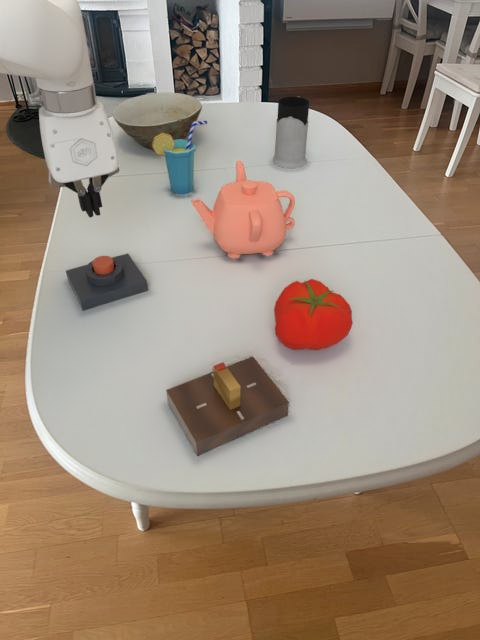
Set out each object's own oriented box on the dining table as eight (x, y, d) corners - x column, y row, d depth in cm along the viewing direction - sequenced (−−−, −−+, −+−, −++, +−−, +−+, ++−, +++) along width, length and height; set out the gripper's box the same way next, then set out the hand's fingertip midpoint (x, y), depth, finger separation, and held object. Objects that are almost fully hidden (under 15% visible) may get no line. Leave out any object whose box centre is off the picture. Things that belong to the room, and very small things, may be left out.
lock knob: (240, 406, 70) (240, 385, 68) (230, 410, 70) (229, 389, 67) (223, 381, 74) (223, 360, 71) (213, 385, 73) (212, 364, 70)
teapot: (191, 249, 104) (187, 187, 95) (237, 214, 115) (237, 155, 106) (260, 276, 98) (263, 212, 89) (302, 236, 108) (308, 175, 99)
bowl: (101, 154, 138) (94, 116, 131) (140, 122, 155) (135, 87, 148) (184, 165, 133) (181, 126, 126) (214, 131, 150) (213, 95, 143)
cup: (199, 174, 129) (196, 113, 119) (218, 185, 125) (216, 123, 115) (151, 190, 123) (143, 127, 113) (169, 203, 118) (163, 138, 108)
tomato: (343, 374, 79) (351, 331, 73) (262, 357, 81) (264, 315, 76) (353, 316, 89) (361, 275, 83) (281, 303, 91) (284, 262, 86)
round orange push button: (97, 277, 91) (95, 269, 90) (91, 267, 93) (89, 258, 92) (117, 271, 92) (115, 263, 91) (110, 261, 95) (109, 253, 94)
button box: (82, 310, 90) (78, 292, 87) (67, 280, 96) (63, 262, 94) (148, 290, 94) (145, 272, 91) (129, 262, 101) (126, 245, 98)
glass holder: (269, 166, 133) (272, 106, 123) (279, 144, 143) (283, 87, 133) (303, 169, 131) (309, 109, 121) (311, 147, 142) (317, 90, 132)
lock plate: (197, 456, 68) (196, 441, 66) (167, 403, 75) (165, 389, 72) (287, 415, 73) (289, 401, 71) (252, 369, 80) (253, 355, 77)
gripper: (18, 115, 68) (51, 235, 80) (128, 96, 73) (144, 212, 86) (8, 97, 73) (40, 213, 85) (112, 81, 78) (128, 192, 90)
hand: (92, 212), depth 85 cm, fingers closed
